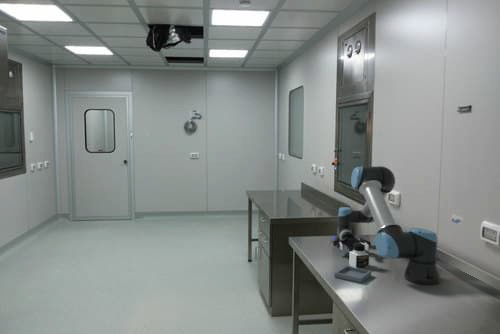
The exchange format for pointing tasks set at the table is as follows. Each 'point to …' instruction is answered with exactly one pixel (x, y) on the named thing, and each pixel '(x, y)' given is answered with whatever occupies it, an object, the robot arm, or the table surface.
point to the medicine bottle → (359, 256)
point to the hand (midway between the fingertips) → (355, 248)
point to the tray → (353, 274)
